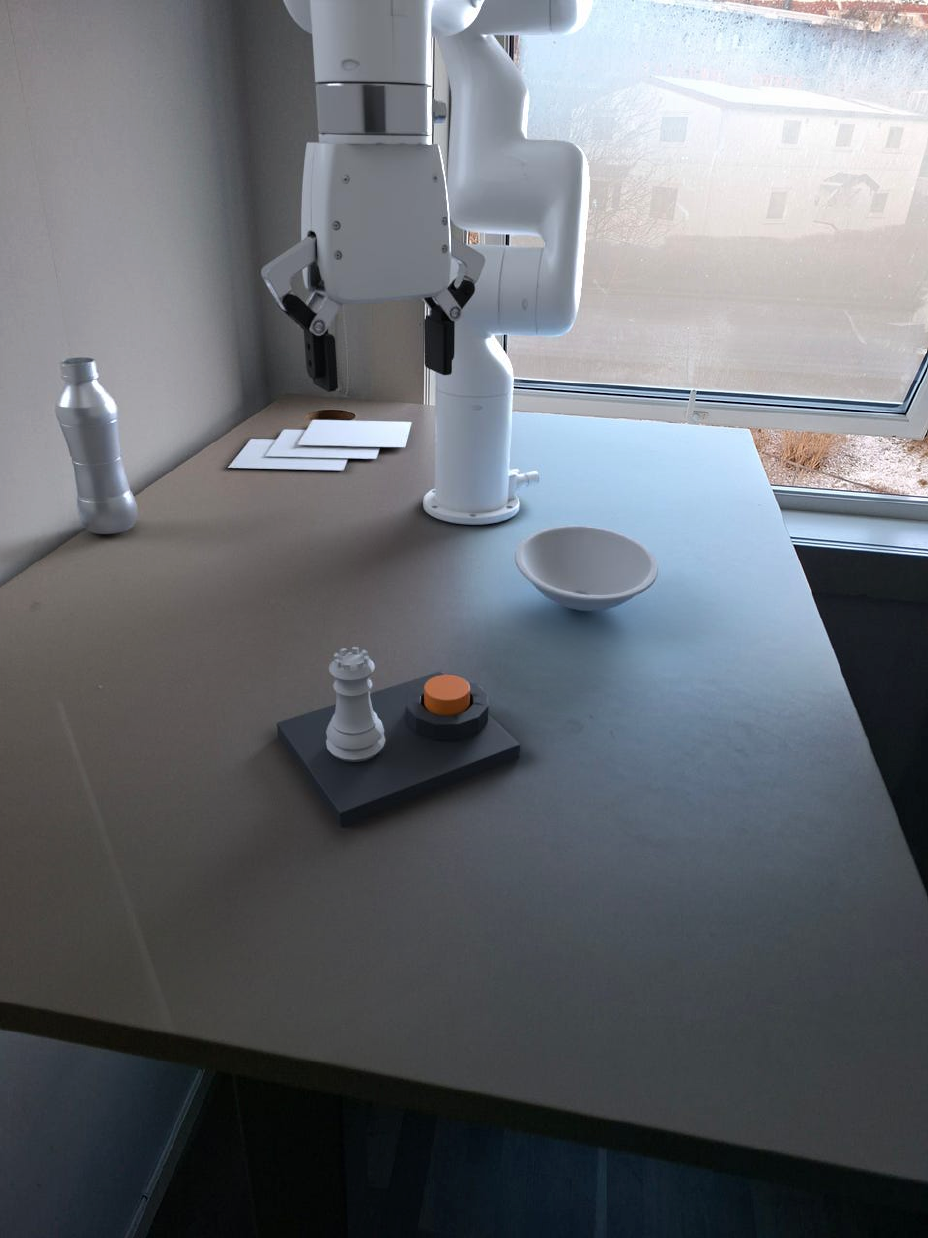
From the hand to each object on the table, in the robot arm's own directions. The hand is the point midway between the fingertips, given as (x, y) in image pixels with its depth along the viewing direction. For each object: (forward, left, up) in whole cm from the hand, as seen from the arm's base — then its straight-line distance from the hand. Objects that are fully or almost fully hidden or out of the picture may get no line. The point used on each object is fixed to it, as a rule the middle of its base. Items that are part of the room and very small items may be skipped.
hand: (383, 378), depth 64 cm
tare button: (+1, +12, -23) cm, 26 cm away
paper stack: (-21, -62, -26) cm, 70 cm away
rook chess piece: (+9, +11, -24) cm, 28 cm away
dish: (-23, -1, -26) cm, 34 cm away
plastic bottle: (+15, -44, -26) cm, 53 cm away
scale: (+5, +12, -26) cm, 28 cm away
